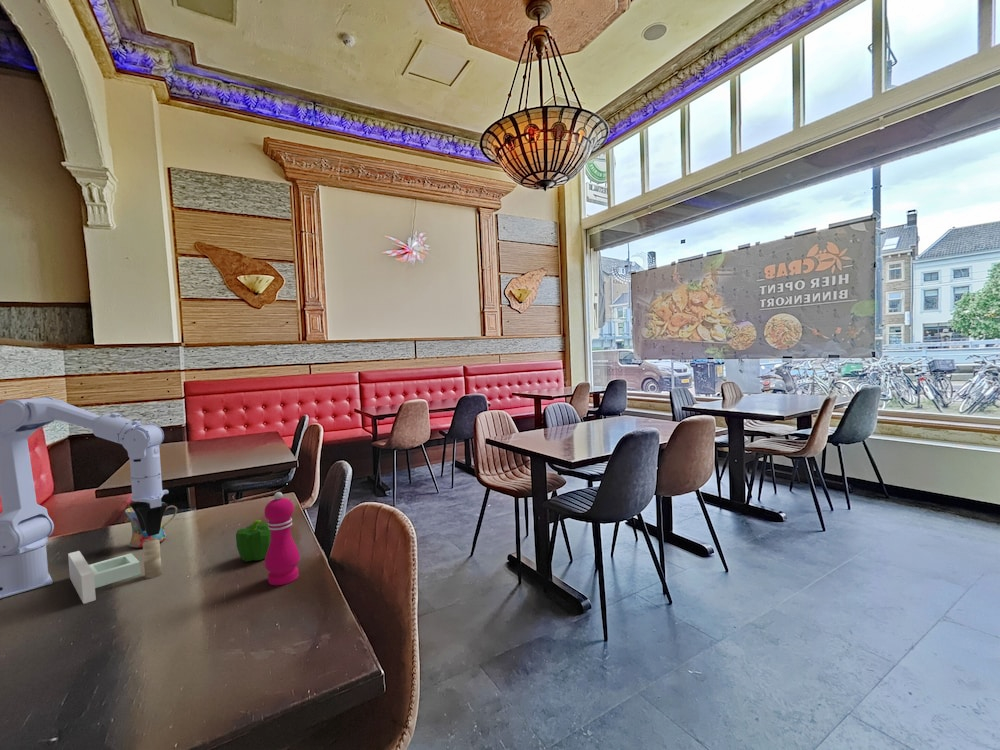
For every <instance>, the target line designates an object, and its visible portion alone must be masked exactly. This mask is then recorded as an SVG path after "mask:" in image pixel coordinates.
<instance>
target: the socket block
mask: <svg viewBox="0 0 1000 750" xmlns="http://www.w3.org/2000/svg"><path fill="white" fill-rule="evenodd" d="M88 565H89V566H90V568H91V569H92V571H93V572H94V582H95V589H97V588H101V587H104V586H108V585H110V584H113V583H116V582H120V581H124V580H126V579H129V578H133V577H137V576H139V575H140V576H141V573H142V572H141V562H140V560H138V558H136V556H134V554H133V553H132V552H130V553H126V554H123V555H120V556H115V557H113V558H109V559H105V560H101V561H98V562H95V563H91V564H88Z"/></svg>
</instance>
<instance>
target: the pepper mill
mask: <svg viewBox="0 0 1000 750" xmlns="http://www.w3.org/2000/svg"><path fill="white" fill-rule="evenodd" d="M283 496H284V495H283V493H282V492H281V491H277V492H276V493H274V495H273V499H272V500H271V501H269V502H268V503H267V504H266V506H265V508H264V518H266V519H267V521H268V522H267V524H268V529H269V530H270V532H271V541H270V545H269V548H268V551H267V554H266V557H265V558H264V567H265V570H267V571H268V572H269V573H268V574H267V581H268V584H269V585H271V586H283V585H288V584H290V583H292V582H294V581H296V580H297V579H298V578H299V576H300V575H299V568H298V566H297V565H298V564H299V562H300V560H301V559H300V558H301V557H300V552H299V549H298V547H297V545H296V543H295V541H294V539H293V536H292V532H291V529H292V525H293V522H292V521H293V518H292V517H291V516H292V515H293V514H294V511H295V506H294V504H293V502H292V501H291V500H290V499H288V498H284V497H283Z"/></svg>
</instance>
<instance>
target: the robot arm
mask: <svg viewBox="0 0 1000 750" xmlns="http://www.w3.org/2000/svg"><path fill="white" fill-rule="evenodd" d="M121 415H122V414H121V413H118V412H112V413H105V414H102V415H100V414H97V413H94V412H92V411H91V412H90V411H88V410H86V409H82V408H80V407H78V406H75V405H72V404H70V403H68V402H65V401H64V400H63V399H59V398H54V397H51V396H41V397H33V398H32V397H31V398H22V399H21V398H20V399H17V398H16V399H15V398H14V399H13V398H11V399H7V400H4V401H3V402H1V403H0V500H1V508H2V512H0V599H4V598H7V597H10V596H14V595H18V594H22V593H24V592H27V591H32V590H35V589H39V588H43V587H46V586H50V585H52V584H53V583H54V582H53V579H52V577H51V574H50V573H49V566H48V555H47V554H48V553H47V543H48V542H49V537H50V536H51V535H52V534H53V532H54V529H55V524H54V521H53V520H52V518H51V517H50V516H49V514H48V509H47V508H46V507H44V506H42V505H41V504H38V502H37V496H36V488H35V481H34V475H33V470H32V461H31V455H30V449H29V442H28V440H29V438H30V437H31V436H32V435H33V434H34V433H35V432H36V431H38V430H39V429H40V428H43V427H45V426H46V425H47V426H48V424H51V423H52V422H55V421H60V422H64V423H66V424H71V425H74V426H77V427H81V428H82V427H83V428H86V429H89V430H91V431H92V433H93V435H94V436H95V437H97V438H100V439H103V440H107V441H110V442H114V443H115V444H116V443H117V444H119V445H122V447H123V448H124V449H125V450H126V451H127V456H128V457H127V458H129V468H130V470H129V471H130V482H131V497H130V499H131V501H133V502H131V503H129V506H130V507H132V509H133V510H134V512H135V514H136V516H137V519H138V522H139V525H140V528H141V530H142V531H146V533H147V535H148V536H152V535H156V534H159V532H160V527H161V522H163V517H164V515H165V512H166V511H167V509H166V508H167V507H168V505H169V504H168V503H167V502H165V503H163V504H161V502H162V498H163V496H164V495H168V494H169V490H168V489H163V480H162V467H161V466H162V465H161V453H160V451H161V450H160V445H161V444H162V443H163V441H164V439H165V434H164V430H163V429H162V428H161V427H160V426H159V425H157V424H155V423H153V422H151V423H146V424H142V423H141V421H140V420H131V419H128V418H125V417H122V416H121ZM163 514H164V515H163Z"/></svg>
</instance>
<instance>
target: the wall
mask: <svg viewBox="0 0 1000 750" xmlns="http://www.w3.org/2000/svg"><path fill="white" fill-rule="evenodd" d="M67 556H68V571H69V579H70V580H71V583H72V584H73V587H74V588H75V591H76V592H77V594H78V596H79V599H80V600H81V602H82V604H83V605H84V604H88V603H90V602H94V601H97V597H96V588H95V582H94V572H93V571H92V569H91V568H90V566H89V565H90V564H89V563H88V562H87V560H86V559H85V557H84V555H83V554H82V552H81V551H80V550H77V551H73V552H72V551H71V552H69V553H67Z"/></svg>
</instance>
